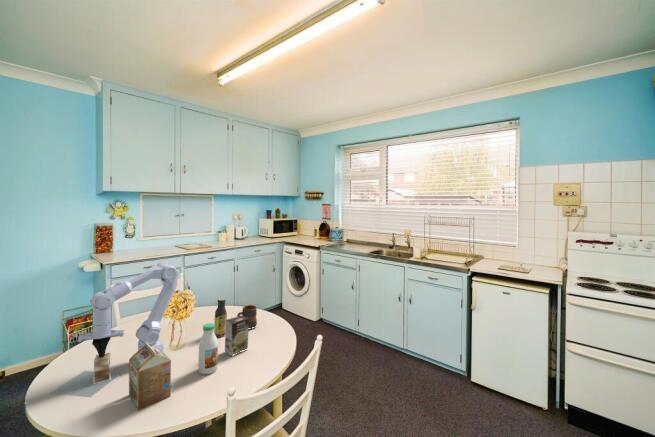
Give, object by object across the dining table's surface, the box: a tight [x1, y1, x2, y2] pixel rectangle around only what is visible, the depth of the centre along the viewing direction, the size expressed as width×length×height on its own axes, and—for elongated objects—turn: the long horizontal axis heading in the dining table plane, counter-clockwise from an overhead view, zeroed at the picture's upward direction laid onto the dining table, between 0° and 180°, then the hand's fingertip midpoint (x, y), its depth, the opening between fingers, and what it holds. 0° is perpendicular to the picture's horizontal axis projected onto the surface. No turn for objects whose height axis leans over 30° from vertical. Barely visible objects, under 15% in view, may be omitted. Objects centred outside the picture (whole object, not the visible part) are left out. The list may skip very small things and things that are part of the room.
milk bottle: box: [198, 322, 219, 375], centre depth 126 cm, size 8×8×20 cm
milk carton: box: [128, 342, 172, 411], centre depth 108 cm, size 11×11×19 cm
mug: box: [236, 304, 258, 328], centre depth 169 cm, size 9×12×12 cm
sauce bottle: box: [213, 297, 228, 338], centre depth 158 cm, size 7×6×20 cm
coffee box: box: [224, 315, 249, 355], centre depth 143 cm, size 9×6×16 cm
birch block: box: [93, 352, 111, 372], centre depth 117 cm, size 4×4×4 cm
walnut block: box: [95, 368, 110, 383], centre depth 117 cm, size 4×4×4 cm
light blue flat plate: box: [50, 370, 121, 398], centre depth 114 cm, size 16×15×1 cm
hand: (102, 355), depth 117 cm, fingers closed
